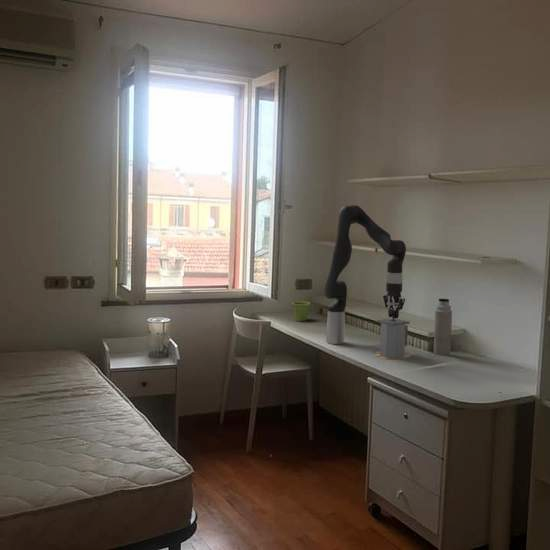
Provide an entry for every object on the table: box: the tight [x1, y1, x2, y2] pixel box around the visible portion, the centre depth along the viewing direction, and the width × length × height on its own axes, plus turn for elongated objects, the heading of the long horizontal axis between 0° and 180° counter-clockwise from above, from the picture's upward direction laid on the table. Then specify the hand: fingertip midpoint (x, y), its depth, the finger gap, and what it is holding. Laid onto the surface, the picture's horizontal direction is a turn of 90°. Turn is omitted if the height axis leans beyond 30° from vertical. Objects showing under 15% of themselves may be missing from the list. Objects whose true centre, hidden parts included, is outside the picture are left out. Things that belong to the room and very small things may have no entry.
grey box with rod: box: [376, 317, 411, 358], centre depth 300 cm, size 11×14×17 cm
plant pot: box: [291, 301, 310, 322], centre depth 397 cm, size 12×12×11 cm
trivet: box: [373, 351, 412, 361], centre depth 300 cm, size 18×18×1 cm
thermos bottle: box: [433, 298, 453, 357], centre depth 304 cm, size 8×8×28 cm
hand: (393, 317), depth 298 cm, fingers closed on plunger, 3 cm apart
